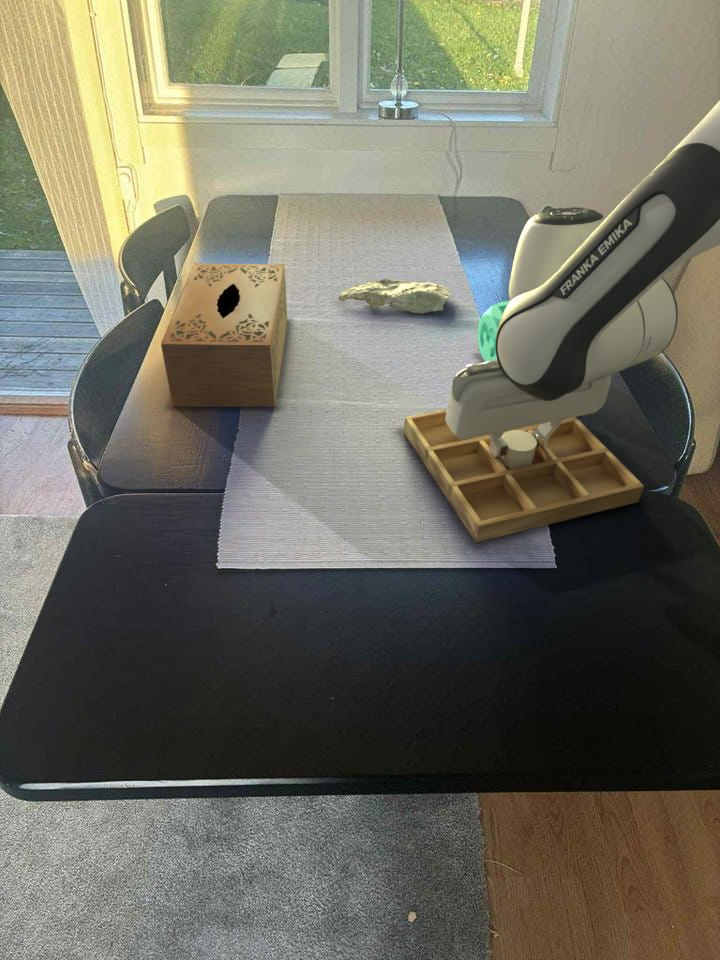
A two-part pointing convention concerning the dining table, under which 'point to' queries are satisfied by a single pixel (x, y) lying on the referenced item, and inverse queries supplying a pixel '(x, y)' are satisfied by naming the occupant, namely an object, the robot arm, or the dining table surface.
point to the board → (521, 477)
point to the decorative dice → (490, 330)
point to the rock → (400, 295)
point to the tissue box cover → (227, 336)
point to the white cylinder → (518, 449)
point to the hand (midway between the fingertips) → (517, 449)
